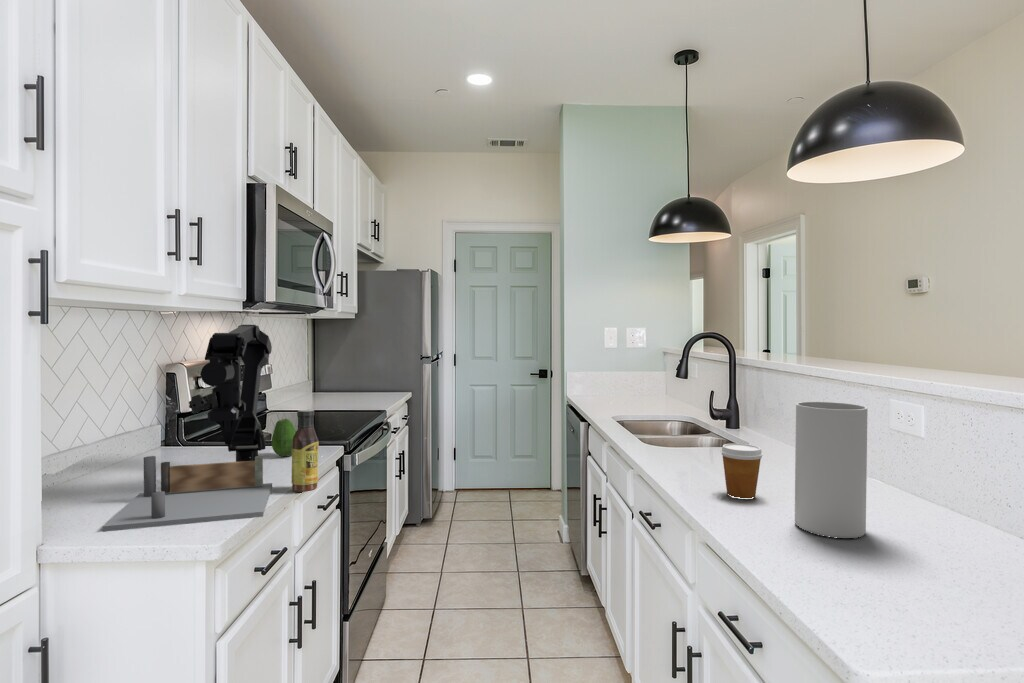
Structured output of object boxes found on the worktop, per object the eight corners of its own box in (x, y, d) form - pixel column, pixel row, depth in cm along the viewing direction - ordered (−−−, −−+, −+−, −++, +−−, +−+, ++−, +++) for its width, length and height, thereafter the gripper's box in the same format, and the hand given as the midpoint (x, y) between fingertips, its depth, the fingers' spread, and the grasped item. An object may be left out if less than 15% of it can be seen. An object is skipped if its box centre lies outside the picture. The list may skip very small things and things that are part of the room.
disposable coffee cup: (713, 496, 136) (714, 447, 135) (729, 488, 143) (729, 441, 142) (754, 505, 129) (754, 453, 129) (768, 496, 136) (768, 446, 136)
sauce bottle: (309, 493, 137) (309, 412, 136) (286, 492, 138) (286, 411, 138) (323, 486, 143) (323, 408, 143) (301, 485, 144) (301, 408, 144)
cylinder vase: (783, 518, 120) (785, 401, 119) (843, 519, 119) (844, 402, 119) (813, 540, 107) (815, 409, 107) (880, 541, 107) (881, 410, 107)
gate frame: (140, 497, 133) (139, 455, 133) (272, 486, 143) (272, 447, 143) (102, 531, 111) (102, 480, 110) (263, 516, 120) (262, 469, 120)
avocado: (276, 454, 181) (275, 417, 180) (301, 453, 181) (301, 416, 181) (268, 459, 173) (267, 421, 172) (294, 459, 174) (294, 420, 173)
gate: (160, 493, 131) (159, 463, 131) (162, 491, 133) (161, 462, 133) (262, 485, 138) (262, 457, 138) (262, 483, 140) (262, 455, 140)
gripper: (199, 380, 148) (199, 439, 148) (182, 386, 130) (183, 453, 131) (245, 379, 152) (246, 436, 152) (236, 385, 134) (236, 450, 134)
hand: (228, 444), depth 142 cm, fingers closed
